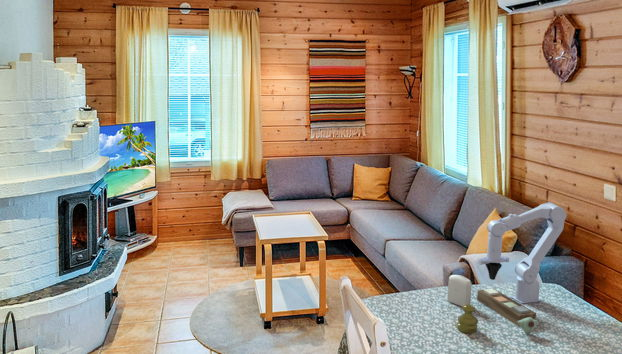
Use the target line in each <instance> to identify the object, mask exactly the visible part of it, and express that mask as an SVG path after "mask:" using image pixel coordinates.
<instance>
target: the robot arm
mask: <svg viewBox="0 0 622 354" xmlns="http://www.w3.org/2000/svg"><path fill="white" fill-rule="evenodd" d="M538 218H543V219H546V222H547V229H545V231H544V233H543V234H542V236H541V237H540V238H539V240H538V241H537V243H536V245H535V246H534V248H533V249H531V252H530V253H529V255H528V256H526V257H523V259H522V260H521V261H519V262H518V263H517V264H516V265H515V266H514V272H515V274H516V277H515V278H516V279H515V280H516V281H515V292H514V294H513V295H510V297H509V298H511V299H512V300H514V301H516V302H518V303H519V304H530V303H536V302H540V301H541V300H540V299H539V298H540V287H541V286H540V283H539V281H538V279H537V278H538V274H539V272H540V271H541V270H540V269H541V267H540V264H541V263H542V261H543V260H544V258H545V257H546V255H547V254H548V253H549V251H550V250H551V248H552V247H553V245H554V244H555V242H556V241H557V239H558V238H559V237H560V235H561V233H562V232H563V231H564V228H565V227H564V226H565V221H566V218H567V213H566V211H565V209H564V208H563V207H562V206H559V205H556V204H555V203H553V202H550V201H549V202H545V203H541V204H539V206H536V207H534V208H533V209H530V210H527V211H525V212H523V213H520V214H518V215H517V214H515V213H513V214H512V213H509V214H508V216H505V217H502V218H500V217H499V218H498V219H497V220H496V219H494V220H493V219H492V220H490V222H488V224H487V225H486V230H487V232H488V237H487V238H488V239H487V249H486V250H487V251H486V257H482V258H479V259H477V264H478V265H480V266H482V265H485V266H486V267H485V268H487V272H488V278H489V279H490V280H492V281H494V280H496V278H497V275H498V272H499V271H500V269H501V268H502V267H503V265H502V263H509V262H510V257H509V256H502V251H503V250H502V249H503V245H502V244H503V235H505V233H506V232H508V231H512V230H514V229H517V228H520V227H521V225H522V223H525V222H528V221H532V220H534V219H538Z"/></svg>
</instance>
